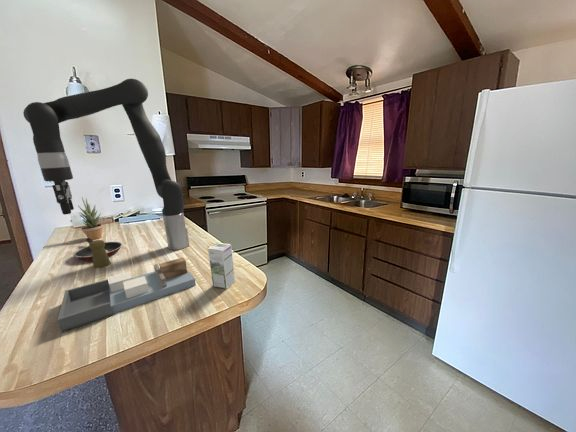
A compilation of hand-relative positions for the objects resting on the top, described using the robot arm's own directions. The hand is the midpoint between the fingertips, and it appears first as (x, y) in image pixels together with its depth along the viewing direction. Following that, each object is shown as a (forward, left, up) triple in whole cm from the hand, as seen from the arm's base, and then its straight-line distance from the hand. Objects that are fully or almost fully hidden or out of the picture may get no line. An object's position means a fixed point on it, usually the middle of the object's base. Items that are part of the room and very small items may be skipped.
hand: (68, 211), depth 87 cm
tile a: (-14, +31, -23) cm, 41 cm away
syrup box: (-39, +41, -26) cm, 63 cm away
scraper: (-26, +28, -23) cm, 45 cm away
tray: (-2, +28, -26) cm, 38 cm away
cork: (-5, -8, -26) cm, 28 cm away
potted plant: (-2, -56, -26) cm, 62 cm away
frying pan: (-3, -31, -26) cm, 40 cm away
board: (-19, +28, -26) cm, 42 cm away
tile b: (-11, +24, -23) cm, 35 cm away
